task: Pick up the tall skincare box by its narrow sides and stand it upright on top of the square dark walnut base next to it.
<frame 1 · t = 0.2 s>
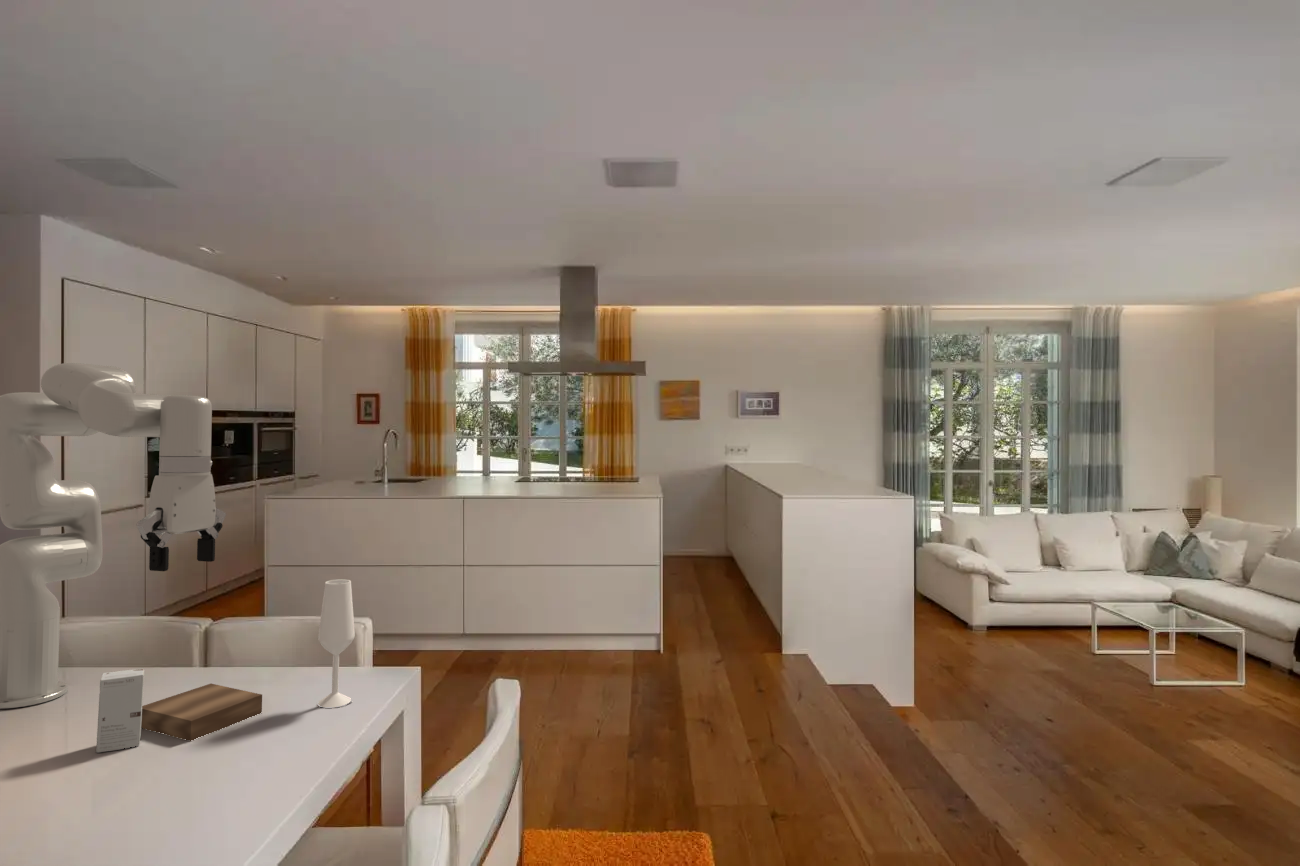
hand: (183, 565, 124), 30 cm above the table, tool pointing down, fingers open, 9 cm apart
champagne flute: (334, 703, 143), on the table
skincare box: (119, 746, 122), on the table
walnut base: (201, 722, 133), on the table
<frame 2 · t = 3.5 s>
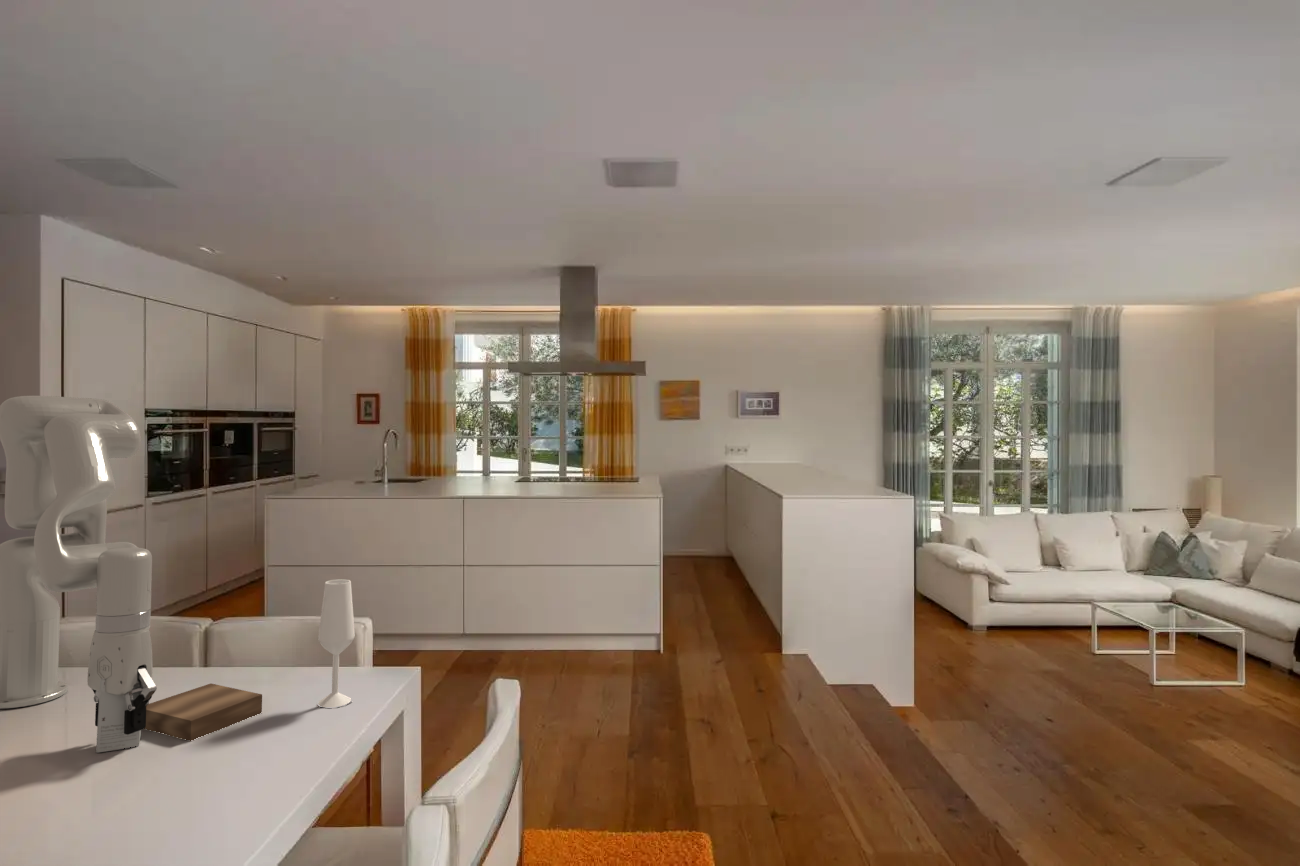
hand: (120, 726, 122), 3 cm above the table, tool pointing down, fingers closed on skincare box, 6 cm apart
skincare box: (119, 746, 122), on the table, touching gripper
everything else where it was.
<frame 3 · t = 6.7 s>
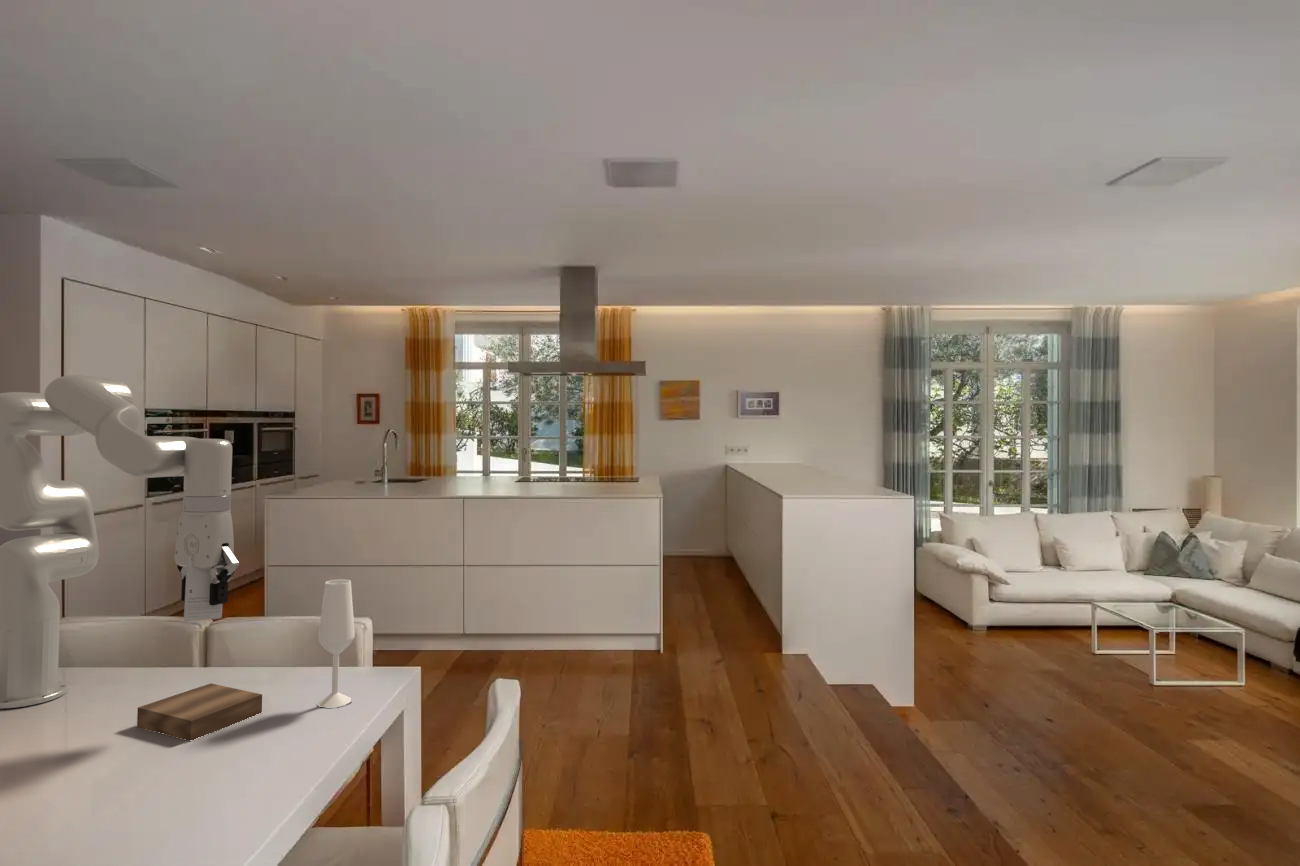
hand: (204, 600, 133), 22 cm above the table, tool pointing down, fingers closed on skincare box, 6 cm apart
skincare box: (203, 618, 133), point 19 cm above the table, touching gripper
everything else where it was.
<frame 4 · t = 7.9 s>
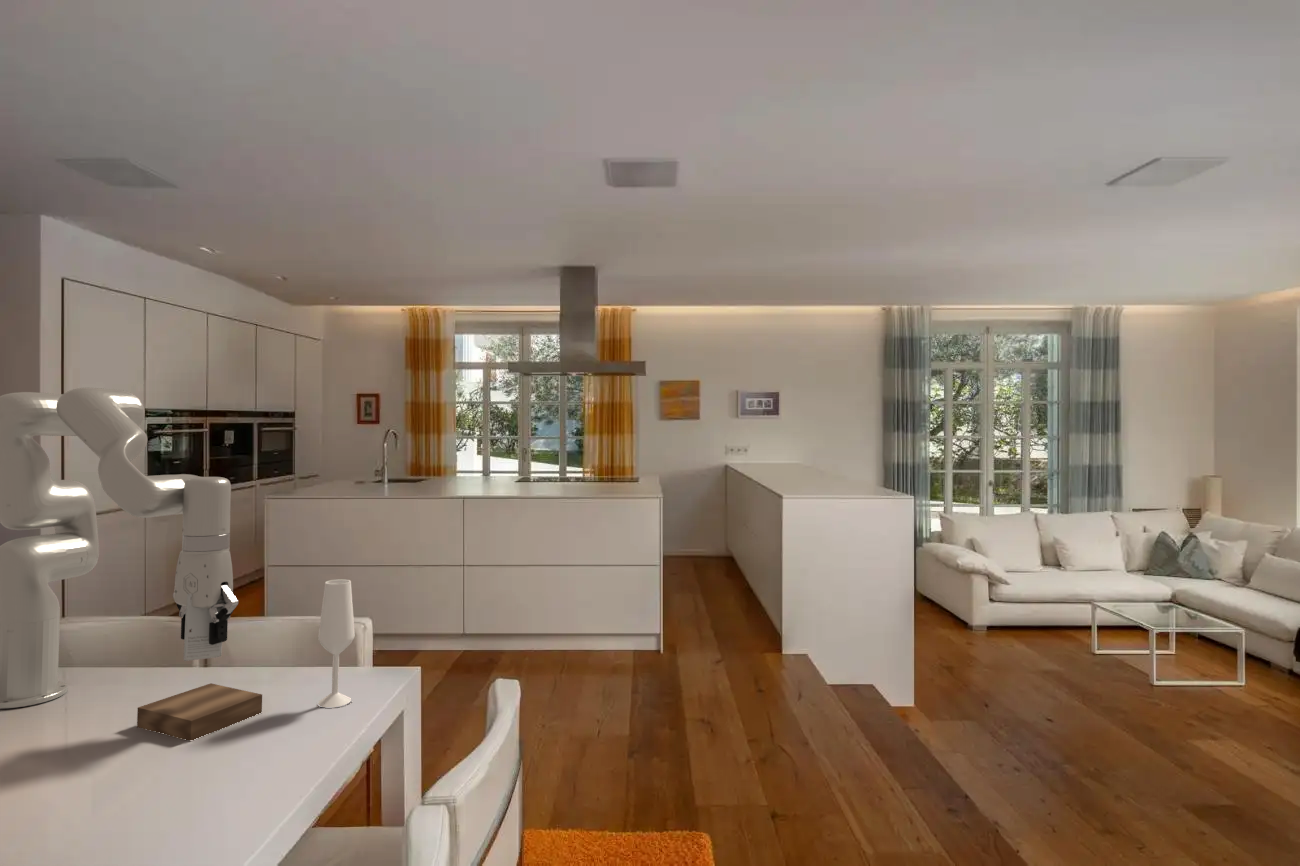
hand: (204, 639, 133), 15 cm above the table, tool pointing down, fingers closed on skincare box, 6 cm apart
skincare box: (203, 657, 133), point 12 cm above the table, touching gripper
everything else where it was.
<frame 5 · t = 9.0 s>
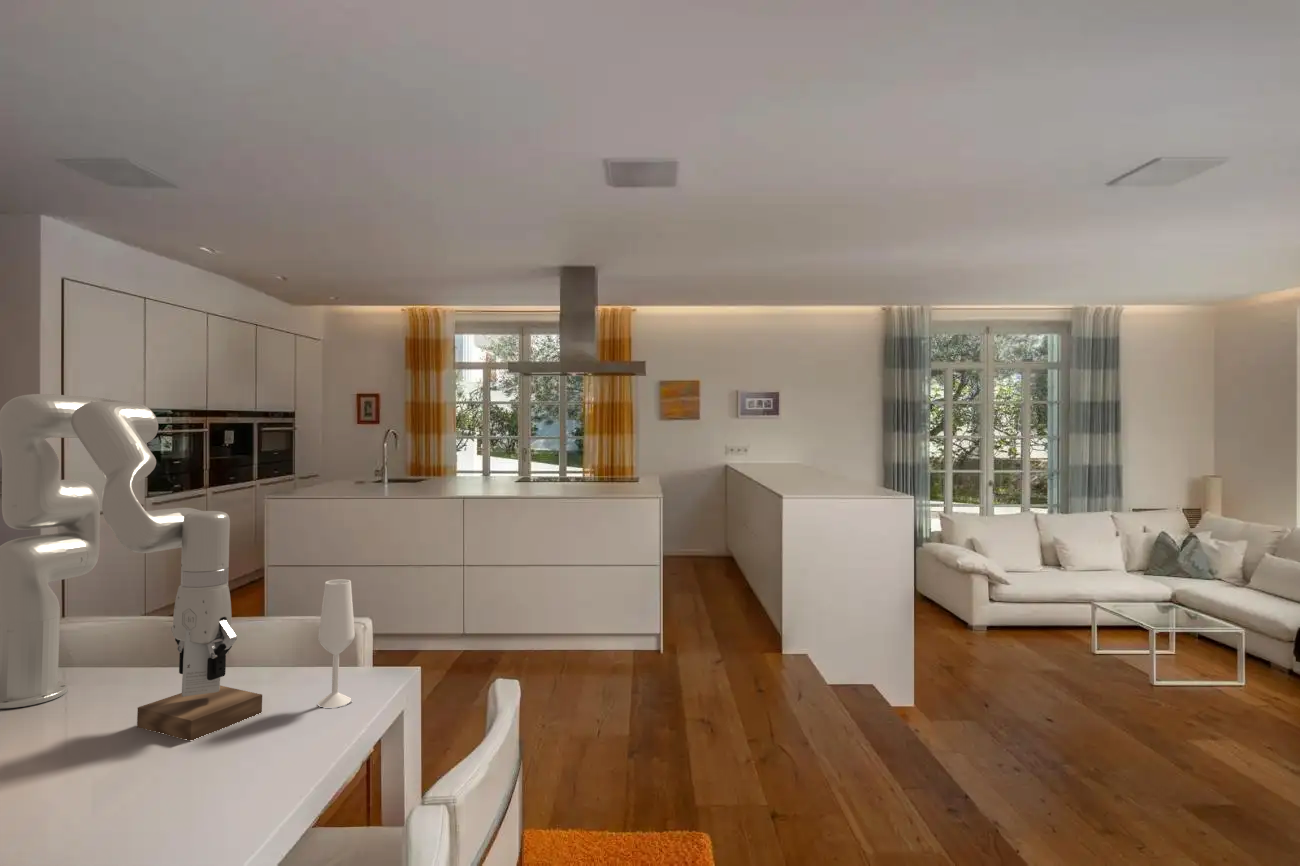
hand: (202, 674, 133), 8 cm above the table, tool pointing down, fingers closed on skincare box, 6 cm apart
skincare box: (201, 692, 133), point 5 cm above the table, touching gripper
everything else where it was.
when the fingers open (8 cm above the table, at t = 10.1 s): skincare box drops 1 cm, resting on walnut base.
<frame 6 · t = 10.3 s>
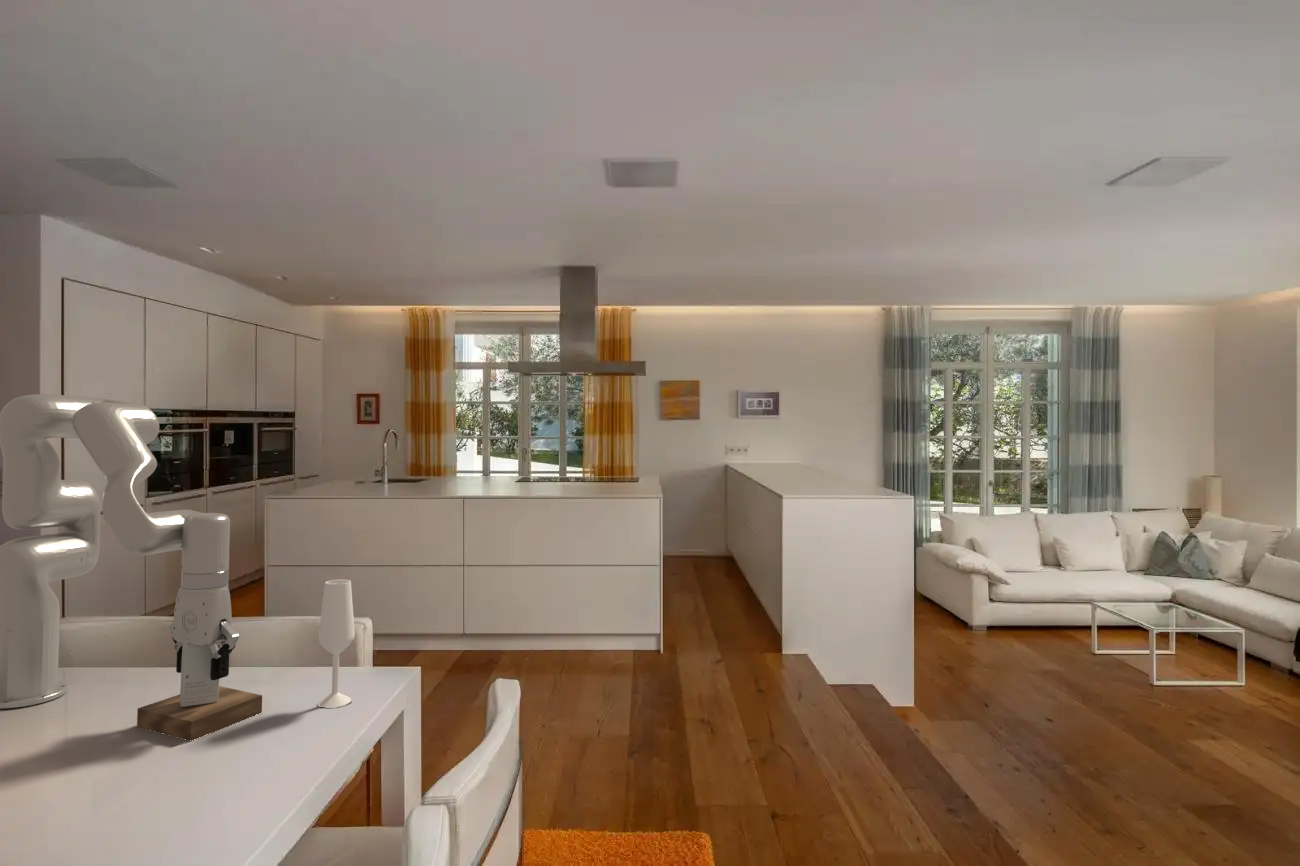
hand: (202, 674, 133), 8 cm above the table, tool pointing down, fingers open, 8 cm apart
skincare box: (199, 702, 133), point 3 cm above the table, touching walnut base
walnut base: (201, 723, 133), on the table, touching skincare box
everything else where it was.
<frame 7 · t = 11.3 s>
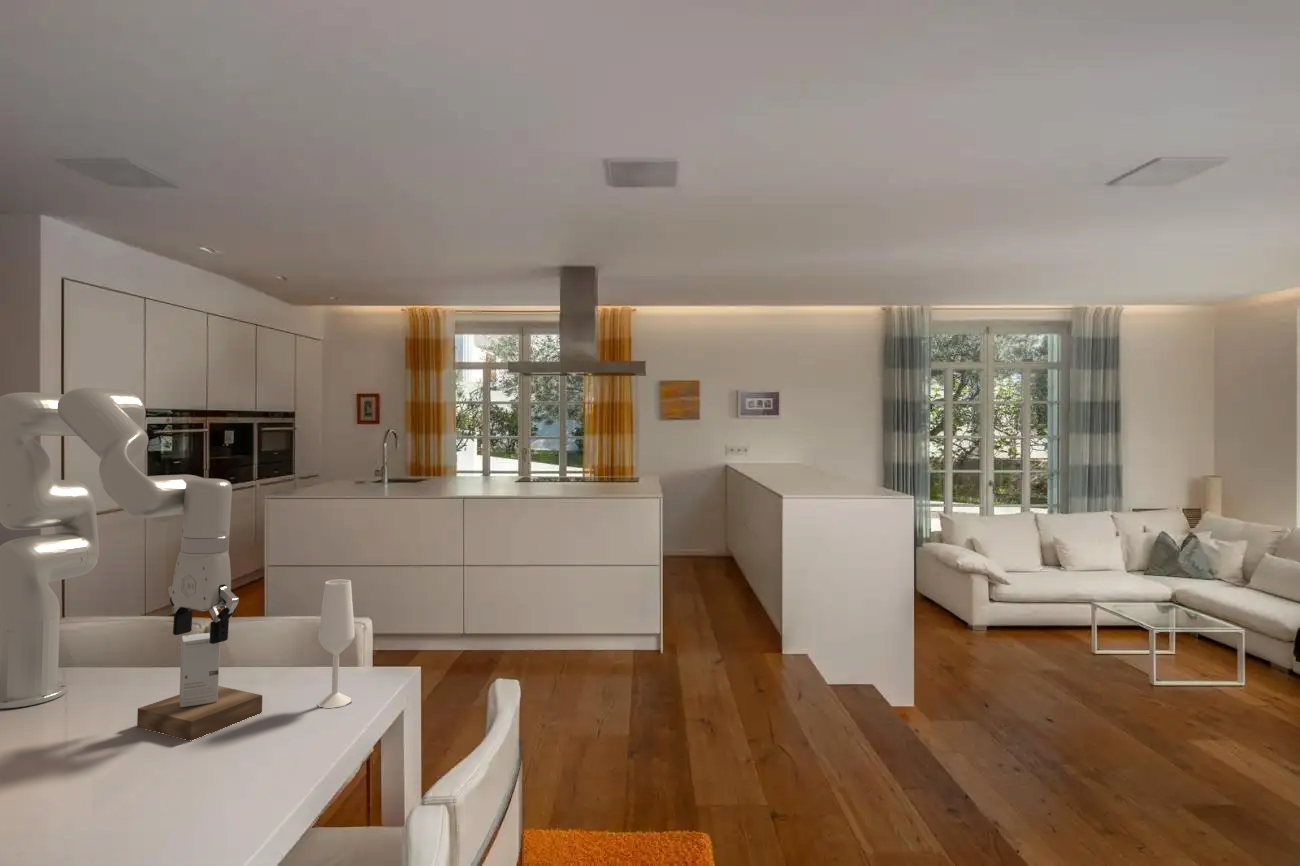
hand: (200, 637, 133), 15 cm above the table, tool pointing down, fingers open, 9 cm apart
nothing on the table moved.
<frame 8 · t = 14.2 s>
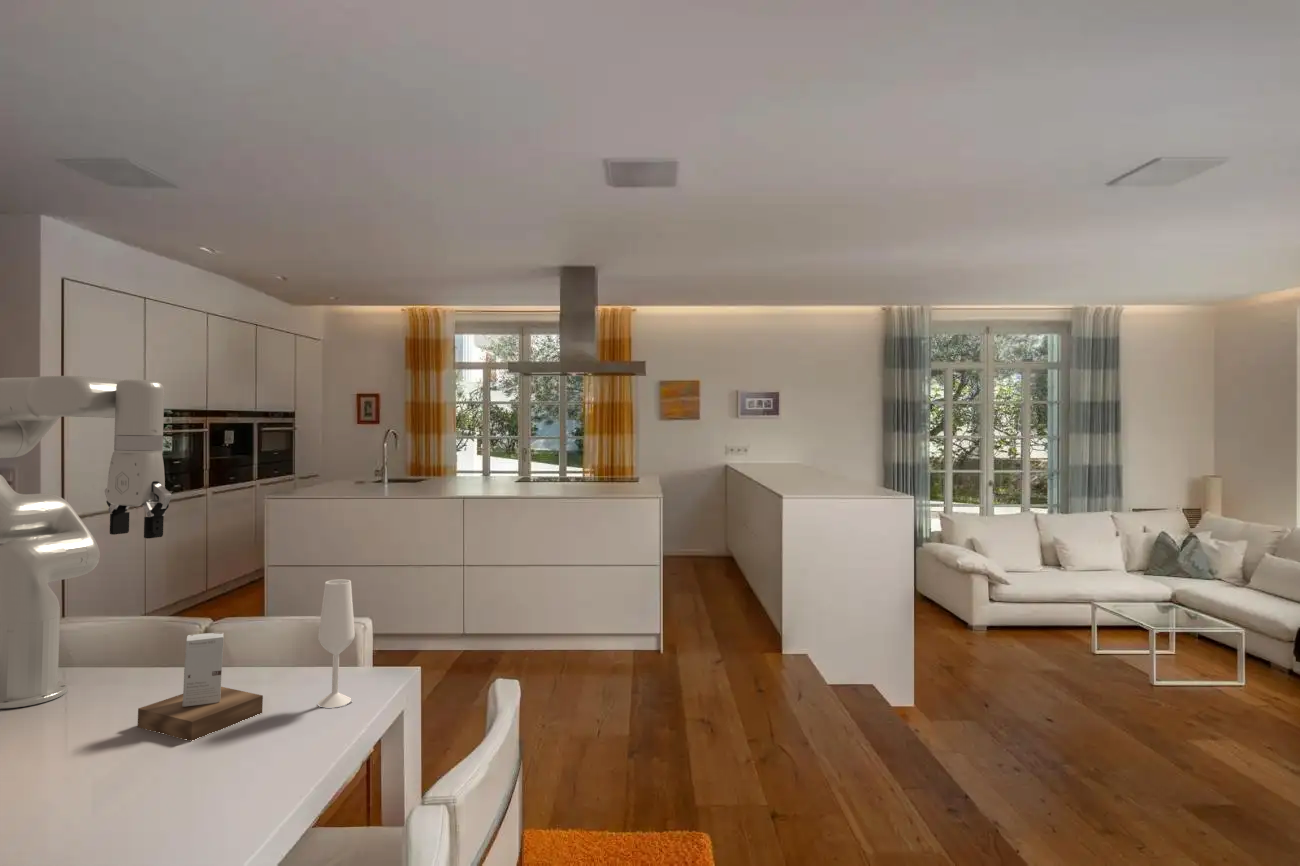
hand: (136, 535, 136), 33 cm above the table, tool pointing down, fingers open, 9 cm apart
nothing on the table moved.
at the end: skincare box inside the target area on the walnut base (0.3 cm from its centre), point 3.8 cm above the walnut base's base; skincare box tilted 0°; the gripper is holding nothing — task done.
